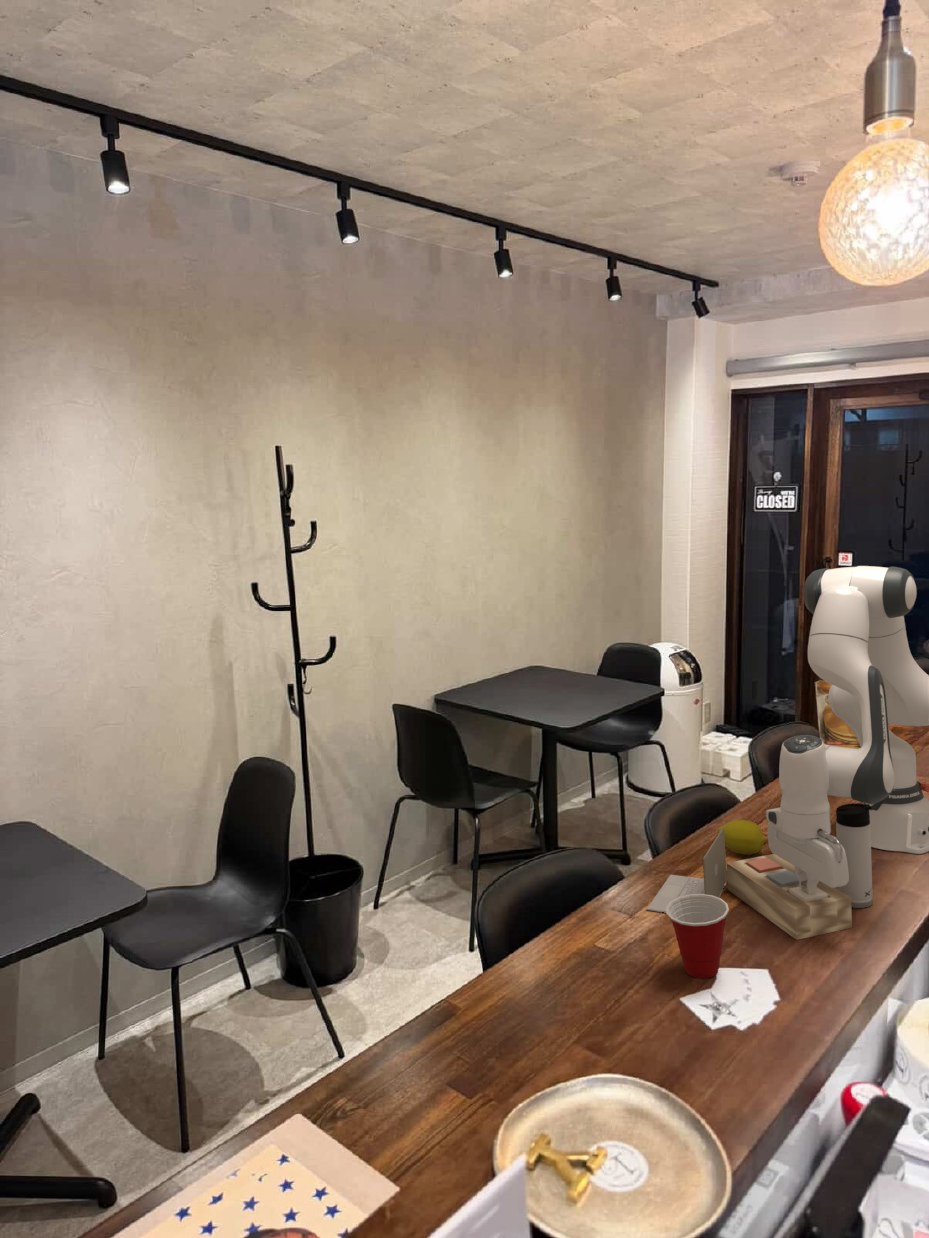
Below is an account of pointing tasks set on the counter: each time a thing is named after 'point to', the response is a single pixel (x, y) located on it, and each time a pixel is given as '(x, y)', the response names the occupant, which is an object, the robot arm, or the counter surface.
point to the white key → (805, 896)
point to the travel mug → (856, 851)
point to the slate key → (783, 878)
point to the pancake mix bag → (832, 721)
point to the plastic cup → (699, 931)
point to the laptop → (689, 885)
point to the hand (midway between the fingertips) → (808, 891)
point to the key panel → (789, 901)
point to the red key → (763, 865)
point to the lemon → (743, 837)
